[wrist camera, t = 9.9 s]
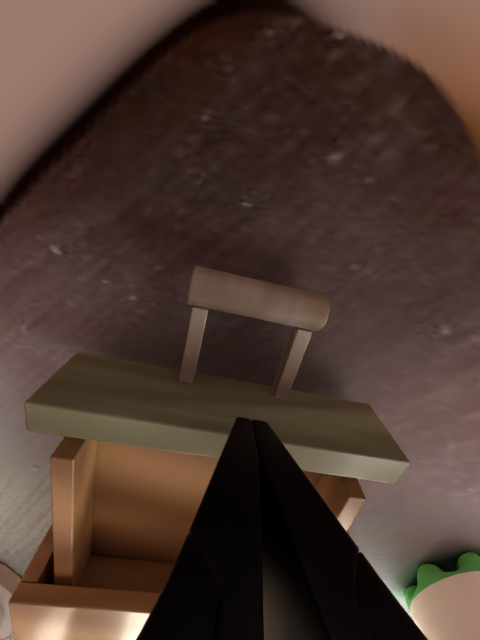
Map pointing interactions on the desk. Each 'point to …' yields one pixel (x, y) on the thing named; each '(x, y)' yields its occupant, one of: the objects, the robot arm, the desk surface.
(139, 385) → the drawer
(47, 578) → the cabinet
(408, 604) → the cup
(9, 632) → the monster figurine
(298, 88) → the desk surface
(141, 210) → the desk surface
